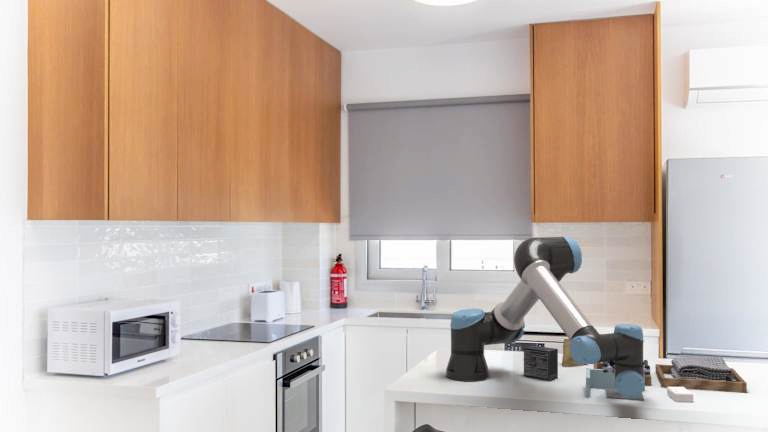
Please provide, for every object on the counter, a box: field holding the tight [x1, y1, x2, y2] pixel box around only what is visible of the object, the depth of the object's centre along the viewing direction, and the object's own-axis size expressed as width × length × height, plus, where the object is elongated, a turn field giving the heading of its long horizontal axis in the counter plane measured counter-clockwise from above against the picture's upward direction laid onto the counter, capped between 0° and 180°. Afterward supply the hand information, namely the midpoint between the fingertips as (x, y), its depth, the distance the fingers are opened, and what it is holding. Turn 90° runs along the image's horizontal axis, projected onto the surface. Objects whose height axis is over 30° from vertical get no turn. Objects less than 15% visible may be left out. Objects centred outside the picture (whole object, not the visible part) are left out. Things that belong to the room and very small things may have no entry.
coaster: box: [605, 388, 645, 401], centre depth 219 cm, size 11×11×1 cm
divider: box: [585, 368, 646, 398], centre depth 221 cm, size 18×14×6 cm
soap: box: [666, 387, 694, 403], centre depth 215 cm, size 9×6×3 cm, turn 174°
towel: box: [670, 355, 736, 382], centre depth 237 cm, size 15×18×8 cm
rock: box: [561, 338, 586, 368], centre depth 263 cm, size 11×9×10 cm
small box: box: [523, 345, 559, 382], centre depth 243 cm, size 11×6×10 cm, turn 47°
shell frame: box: [593, 362, 652, 387], centre depth 242 cm, size 18×18×3 cm
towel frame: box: [655, 363, 748, 394], centre depth 236 cm, size 25×22×3 cm
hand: (623, 358), depth 224 cm, fingers closed on beverage cup, 6 cm apart
